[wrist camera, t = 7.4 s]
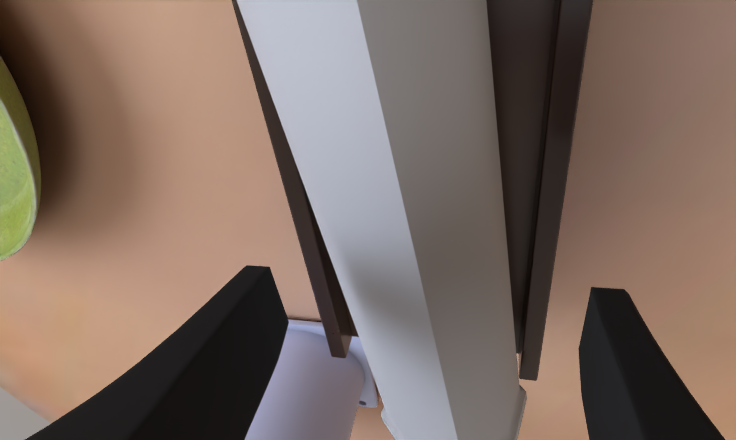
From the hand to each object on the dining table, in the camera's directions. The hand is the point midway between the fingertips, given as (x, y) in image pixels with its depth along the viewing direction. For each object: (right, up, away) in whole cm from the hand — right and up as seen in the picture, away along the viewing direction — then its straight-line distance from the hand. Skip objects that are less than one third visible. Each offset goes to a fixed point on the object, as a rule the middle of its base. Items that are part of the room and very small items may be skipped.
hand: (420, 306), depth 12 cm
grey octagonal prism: (0, +6, +3) cm, 7 cm away
